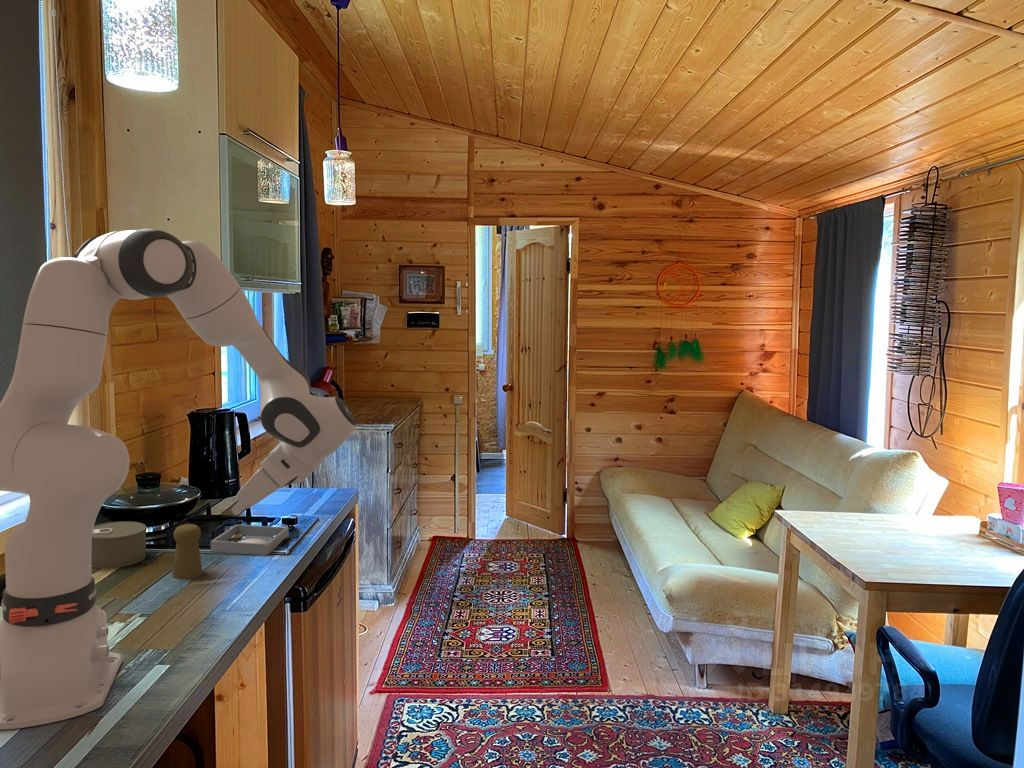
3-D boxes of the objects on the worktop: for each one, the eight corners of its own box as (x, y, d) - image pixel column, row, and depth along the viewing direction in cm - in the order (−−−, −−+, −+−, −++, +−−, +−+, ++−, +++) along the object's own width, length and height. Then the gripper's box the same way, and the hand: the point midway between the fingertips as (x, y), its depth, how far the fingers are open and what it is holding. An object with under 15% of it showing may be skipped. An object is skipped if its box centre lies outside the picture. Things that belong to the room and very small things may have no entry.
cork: (191, 583, 152) (191, 531, 150) (165, 580, 153) (164, 528, 152) (209, 573, 157) (209, 523, 156) (183, 570, 159) (183, 520, 157)
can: (147, 565, 161) (146, 534, 161) (83, 572, 156) (82, 540, 155) (146, 547, 172) (146, 519, 171) (86, 553, 166) (86, 524, 166)
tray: (267, 557, 168) (267, 544, 168) (210, 554, 169) (210, 541, 169) (288, 539, 181) (288, 527, 181) (235, 536, 182) (235, 524, 182)
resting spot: (269, 546, 174) (269, 545, 174) (237, 550, 171) (237, 549, 171) (263, 538, 180) (263, 537, 180) (233, 541, 177) (233, 540, 177)
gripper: (299, 441, 161) (255, 482, 163) (261, 460, 141) (211, 507, 143) (319, 462, 161) (274, 503, 163) (284, 484, 141) (234, 531, 143)
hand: (244, 505), depth 153 cm, fingers open, 8 cm apart
